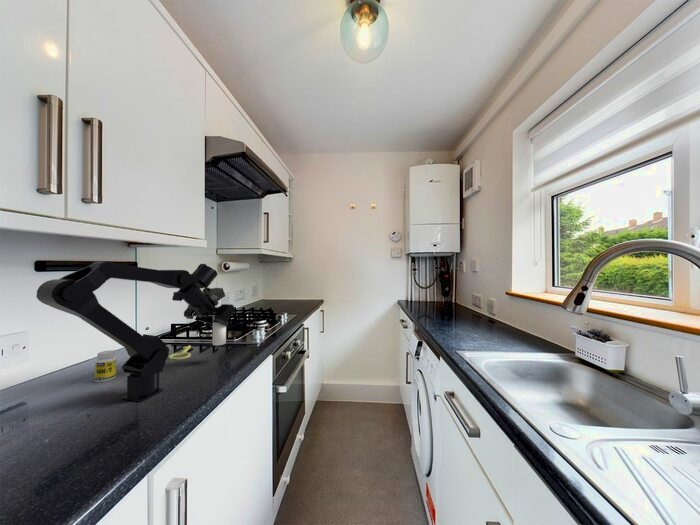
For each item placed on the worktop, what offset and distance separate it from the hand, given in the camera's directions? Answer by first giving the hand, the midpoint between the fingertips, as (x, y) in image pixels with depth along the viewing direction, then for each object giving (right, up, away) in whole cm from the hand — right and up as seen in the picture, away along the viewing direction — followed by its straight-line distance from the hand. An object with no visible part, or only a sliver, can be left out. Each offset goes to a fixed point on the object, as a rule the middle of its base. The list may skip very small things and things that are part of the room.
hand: (222, 324), depth 96 cm
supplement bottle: (-29, -13, -16) cm, 35 cm away
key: (-19, -14, +7) cm, 25 cm away
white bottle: (0, -7, -1) cm, 7 cm away
